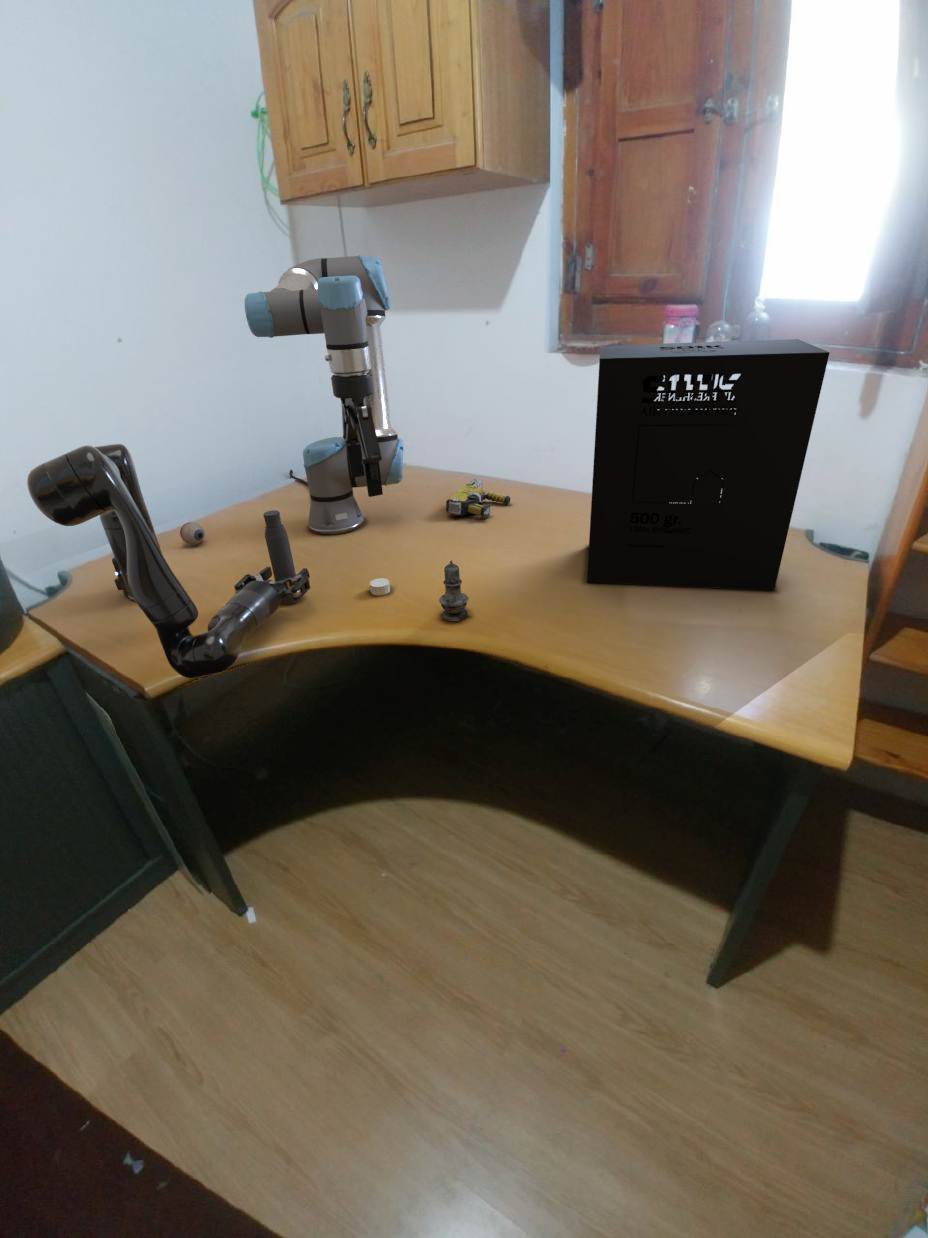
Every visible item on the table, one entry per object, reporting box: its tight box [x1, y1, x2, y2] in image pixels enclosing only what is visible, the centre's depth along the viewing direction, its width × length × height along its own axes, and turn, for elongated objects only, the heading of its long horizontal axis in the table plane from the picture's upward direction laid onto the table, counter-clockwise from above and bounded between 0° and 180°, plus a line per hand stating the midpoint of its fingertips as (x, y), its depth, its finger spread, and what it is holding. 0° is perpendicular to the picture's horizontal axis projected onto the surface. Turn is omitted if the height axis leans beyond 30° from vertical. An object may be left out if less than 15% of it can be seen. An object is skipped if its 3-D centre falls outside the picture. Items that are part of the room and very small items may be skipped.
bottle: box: [262, 509, 302, 606], centre depth 126 cm, size 4×4×20 cm
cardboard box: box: [586, 338, 831, 592], centre depth 124 cm, size 38×20×45 cm, turn 78°
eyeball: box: [179, 521, 206, 546], centre depth 161 cm, size 6×6×6 cm
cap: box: [369, 577, 391, 597], centre depth 132 cm, size 4×4×2 cm
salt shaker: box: [438, 560, 469, 622], centre depth 119 cm, size 6×6×12 cm
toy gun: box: [445, 478, 511, 520], centre depth 176 cm, size 5×24×15 cm
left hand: (288, 571), depth 129 cm, fingers open, 8 cm apart
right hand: (366, 485), depth 121 cm, fingers open, 13 cm apart
